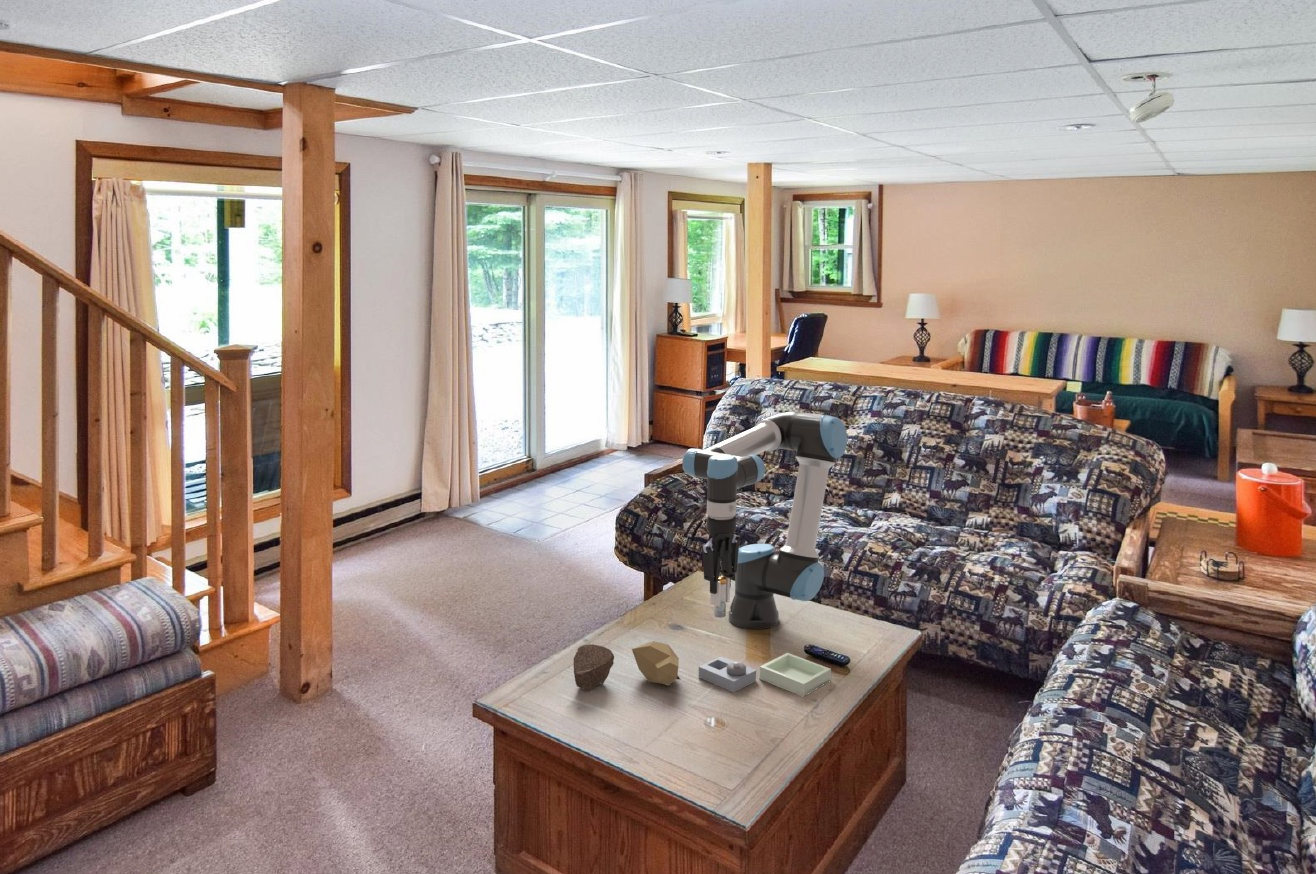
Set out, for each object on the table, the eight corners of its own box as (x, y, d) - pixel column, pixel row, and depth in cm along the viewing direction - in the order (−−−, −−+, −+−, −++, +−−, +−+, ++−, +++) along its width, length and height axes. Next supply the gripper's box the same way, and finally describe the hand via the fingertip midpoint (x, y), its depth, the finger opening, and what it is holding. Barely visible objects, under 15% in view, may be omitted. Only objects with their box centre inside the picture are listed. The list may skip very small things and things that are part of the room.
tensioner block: (698, 677, 247) (698, 657, 246) (720, 666, 253) (721, 647, 252) (733, 692, 239) (734, 672, 237) (755, 680, 245) (756, 661, 244)
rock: (587, 685, 231) (561, 656, 235) (577, 705, 238) (552, 676, 242) (622, 659, 239) (596, 631, 243) (612, 679, 246) (587, 651, 250)
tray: (759, 679, 246) (759, 666, 245) (787, 664, 254) (787, 652, 254) (803, 696, 236) (803, 684, 236) (830, 681, 245) (830, 668, 244)
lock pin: (711, 615, 244) (712, 578, 242) (719, 612, 247) (719, 575, 244) (720, 618, 242) (721, 581, 240) (727, 615, 245) (728, 578, 242)
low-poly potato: (636, 670, 251) (617, 666, 241) (656, 634, 252) (638, 629, 242) (680, 699, 244) (663, 697, 234) (701, 662, 245) (684, 658, 235)
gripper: (711, 525, 231) (710, 615, 236) (752, 512, 242) (750, 598, 247) (689, 519, 236) (688, 607, 241) (730, 506, 247) (728, 590, 252)
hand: (720, 602), depth 244 cm, fingers closed on lock pin, 3 cm apart
